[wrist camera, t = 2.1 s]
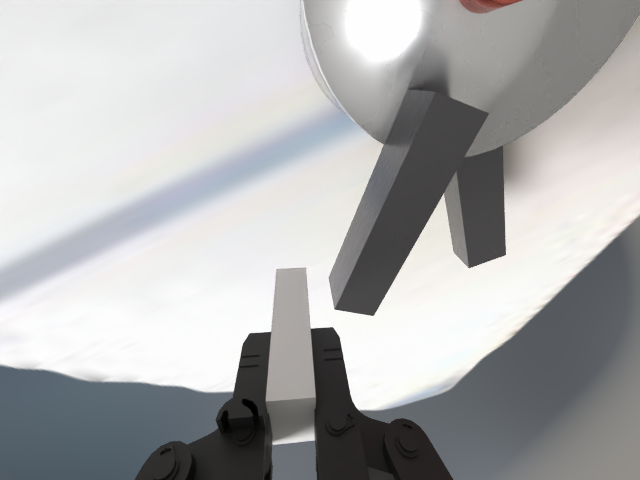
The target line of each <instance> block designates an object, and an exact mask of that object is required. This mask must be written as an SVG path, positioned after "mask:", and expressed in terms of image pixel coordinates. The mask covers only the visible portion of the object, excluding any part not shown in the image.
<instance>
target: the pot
mask: <svg viewBox="0 0 640 480" xmlns="http://www.w3.org/2000/svg"><path fill="white" fill-rule="evenodd" d="M300 24H301V35H302V41H303V46H304V51H305V54H306V57H307V61H308V64H309V66H310V69H311V71H312V73H313V76H314V78H315V80H316V81H317V83H318V85H319V86H320V88H321V90H322V91H323V92H324V93H325V95H326V96H327V97H328V99H329V100H330V101H331V102H332V103H333V104H334V105H335V106H336V107H338V108H339V109H340V110H342V111H343V112H344V113H346V112H345V111H344V110H343V109H342V108H341V106H340V105H339V103H338V102H337V100H336V99H335V97H334V96H333V94H332V93H331V91H330V90H329V88H328V86H327V84H326V82H325V80H324V78H323V76H322V74H321V72H320V70H319V67H318V64H317V61H316V59H315V56H314V53H313V51H312V48H311V44H310V40H309V36H308V32H307V28H306V24H305V20H304V13H303V6H302V0H300ZM444 195H445V201H446V208H447V214H448V220H449V226H450V232H451V238H452V245H453V251H454V253H455V254H456V255H457V256H458V257H459V258H460V259H461V260H462V261H463V262H464V264H465V265H466V266H467V267H468V268H471V267H474V266H477V265H479V264H482V263H485V262H488V261H491V260H493V259H496V258H499V257H502V256H504V255H506V246H505V213H504V179H503V146H500V147H498V148H496V149H493V150H491V151H487V152H484V153H481V154H478V155H474V156H469V157H464V159H463V160H462V162H461V164H460V166H459V167H458V169H457V171H456V173H455V174H454V176H453V178H452V180H451V181H450V183H449V185H448V187H447V188H446V190H445V192H444Z"/></svg>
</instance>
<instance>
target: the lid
mask: <svg viewBox="0 0 640 480" xmlns="http://www.w3.org/2000/svg"><path fill="white" fill-rule="evenodd" d="M302 6H303V13H304V20H305V24H306V28H307V32H308V36H309V40H310V44H311V48H312V51H313V53H314V56H315V59H316V61H317V64H318V67H319V70H320V72H321V74H322V76H323V78H324V80H325V82H326V84H327V86H328V88H329V90H330V91H331V93H332V94H333V96H334V97H335V99H336V100H337V102H338V103H339V105H340V106H341V108H342V109H343V110H344V111H345V112H346V114H347V115H348V116H349V117H350V118H351V119H352V120H353V121H354V122H355V123H356V124H357V125H358V126H359V127H360V128H362V129H363V130H364V131H365V132H366V133H368V134H369V135H370V136H372V137H373V138H375V139H376V140H378V141H379V142H381V143H383V144H384V146H383V149H382V151H381V154H380V156H379V158H378V161H377V163H376V166H375V168H374V170H373V173H372V175H371V178H370V180H369V182H368V185H367V187H366V190H365V192H364V194H363V197H362V199H361V202H360V204H359V206H358V209H357V211H356V214H355V216H354V218H353V221H352V223H351V226H350V228H349V230H348V233H347V235H346V238H345V240H344V242H343V245H342V247H341V250H340V252H339V254H338V257H337V259H336V262H335V264H334V266H333V269H332V271H331V274H330V276H329V282H330V287H331V293H332V298H333V303H334V309H335V310H341V311H347V312H353V313H359V314H365V315H371V316H374V314H375V313H376V311H377V309H378V307H379V306H380V304H381V302H382V300H383V299H384V297H385V295H386V293H387V292H388V290H389V288H390V286H391V285H392V283H393V281H394V279H395V278H396V276H397V274H398V272H399V271H400V269H401V267H402V265H403V264H404V262H405V260H406V258H407V257H408V255H409V253H410V251H411V250H412V248H413V246H414V244H415V243H416V241H417V239H418V237H419V236H420V234H421V232H422V230H423V229H424V227H425V225H426V223H427V222H428V220H429V218H430V216H431V215H432V213H433V211H434V209H435V208H436V206H437V204H438V202H439V201H440V199H441V197H442V195H443V194H444V192H445V190H446V188H447V187H448V185H449V183H450V181H451V180H452V178H453V176H454V174H455V173H456V171H457V169H458V167H459V166H460V164H461V162H462V160H463V159H464V157H469V156H474V155H478V154H481V153H484V152H487V151H491V150H493V149H496V148H498V147H500V146H503V145H505V144H507V143H510V142H512V141H513V140H515V139H517V138H519V137H521V136H522V135H524V134H526V133H528V132H529V131H531V130H532V129H534V128H535V127H537V126H538V125H540V124H541V123H543V122H544V121H545V120H547V119H548V118H549V117H551V116H552V115H553V114H554V113H556V112H557V111H558V110H559V109H560V108H562V107H563V106H564V105H565V104H566V103H567V102H569V101H570V100H571V99H572V98H573V97H574V96H575V95H576V94H577V93H578V92H579V91H580V90H581V89H582V88H583V87H584V86H585V85H586V84H587V83H588V82H589V80H590V79H591V78H592V77H593V76H594V75H595V74H596V73H597V71H598V70H599V69H600V68H601V67H602V66H603V65H604V63H605V62H606V61H607V60H608V58H609V57H610V56H611V54H612V53H613V52H614V50H615V49H616V48H617V46H618V45H619V44H620V42H621V41H622V40H623V38H624V37H625V35H626V34H627V32H628V31H629V29H630V28H631V26H632V25H633V23H634V21H635V20H636V18H637V17H638V15H639V14H640V0H302Z"/></svg>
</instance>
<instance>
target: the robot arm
mask: <svg viewBox="0 0 640 480" xmlns="http://www.w3.org/2000/svg"><path fill="white" fill-rule="evenodd" d="M216 422H217V425H218V429H217V430H215V431H214V432H213V433H211V434H209V435H208V436H205V437H203V438H201V439H199V440H197V441H194V442H192V443H190V444H188V445H187V444H185V443H183V442H181V441H173V442H169V443H167V444H165V445H162V446H161V447H160V448H158V449H157V450H156V451H154V452H153V453H152V454H151V455H150V457H149V458H148V459H147V461H146V462H145V463H144V465H143V466H142V468H141V470H140V471H139V473H138V475H137V477H136V479H135V480H272V468H273V466H272V442H273V445H274V444H284V443H293V442H303V441H313V440H315V449H316V472H317V480H453V478H452V477H451V475H450V473H449V472H448V470H447V468H446V467H445V465H444V463H443V462H442V460H441V458H440V457H439V455H438V453H437V452H436V450H435V448H434V447H433V445H432V443H431V442H430V440H429V438H428V437H427V435H426V434H425V433H424V431H423V430H422V429H421V428H420V427H419V426H418V425H417V424H415V423H414V422H412V421H410V420H407V419H403V418H402V419H395V420H394V421H392V422H391V423H390V424H388V423H385V422H381V421H378V420H374V419H371V418H368V417H366V416H365V415H363V414H362V413H361V412H360V411H359V410H358V409H357V408H356V407H355V405H354V403H353V402H352V399H351V396H350V390H349V385H348V380H347V374H346V369H345V364H344V360H343V353H342V348H341V343H340V337H339V336H338V334H337V333H336V331H335V330H334V328H333V327H330V328H315V329H310V315H309V302H308V289H307V276H306V268H291V269H277V270H276V282H275V294H274V306H273V318H272V330H271V332H264V333H250V334H249V335H248V337H247V339H246V340H245V342H244V343H243V346H242V351H241V358H240V362H239V369H238V372H237V378H236V383H235V388H234V394H233V398H232V399H231V400H229V401H228V402H226V403H225V404H224V405H223V407H222V408H221V409H220V411H219V413H218V415H217V418H216Z"/></svg>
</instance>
